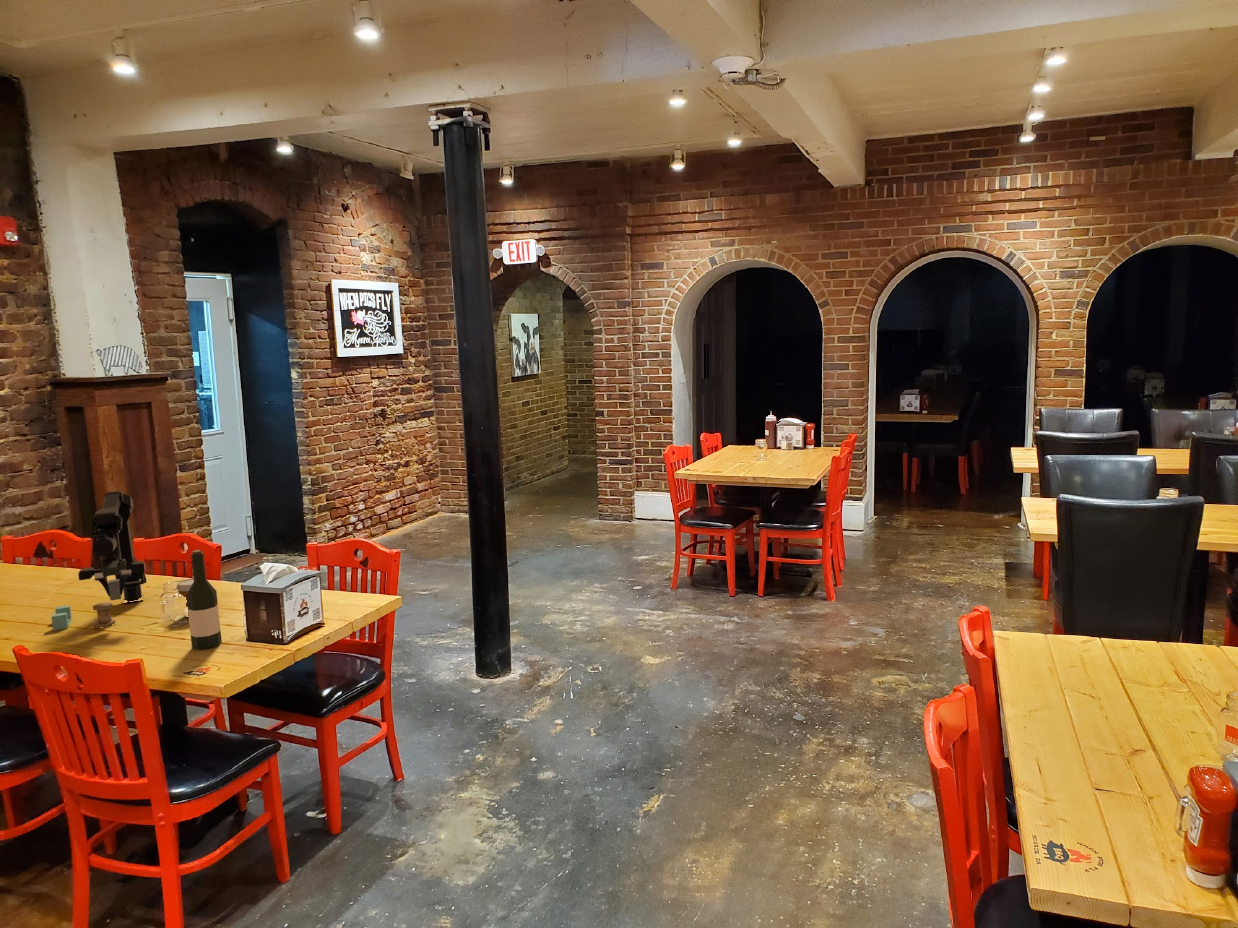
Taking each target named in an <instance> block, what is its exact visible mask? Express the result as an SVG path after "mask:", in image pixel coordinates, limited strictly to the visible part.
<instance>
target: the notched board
mask: <svg viewBox="0 0 1238 928" xmlns="http://www.w3.org/2000/svg"><path fill="white" fill-rule="evenodd" d="M54 610H55V611H54V613H53V614H51V625H52V631H53V632H54V631H59V630H58V629H61V630H67V629H68V628H69V626H70V624H69V623H71V622H70V621H72V619H73V616H72V609H71V605H70V604H68V605H63V606H62V605H60V606H56V607H55V609H54ZM71 618H72V619H71ZM66 628H67V629H66Z"/></svg>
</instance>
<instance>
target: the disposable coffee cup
mask: <svg viewBox="0 0 1238 928" xmlns="http://www.w3.org/2000/svg"><path fill="white" fill-rule="evenodd" d="M193 582H194V578H193V577H192V578H187V579H182V580H180V581H178V582H177V583H176V584H177V585H176V586H175V587H176V588H175V589H177V592H178V595H179V594H181V595H183V596H184V597H186V596H187V594H188V592H189V590H190V588H191V586H192V584H193ZM186 600H187V598H186ZM186 606H187V603H186Z"/></svg>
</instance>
